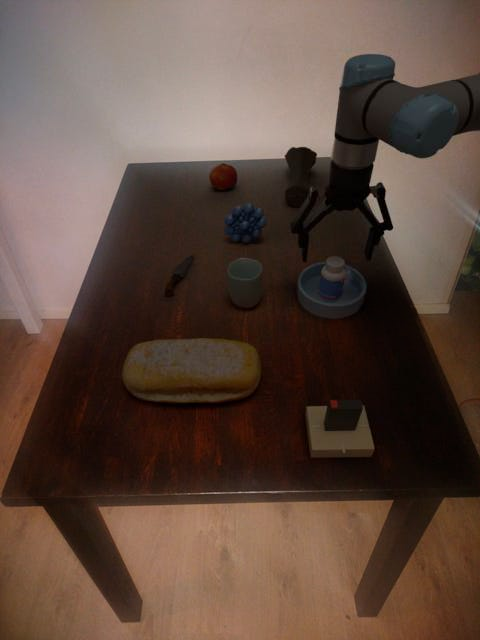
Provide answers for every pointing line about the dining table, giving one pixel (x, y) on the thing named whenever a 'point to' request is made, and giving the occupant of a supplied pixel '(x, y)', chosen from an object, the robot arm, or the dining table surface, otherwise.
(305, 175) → the scalloped vase
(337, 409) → the black block red label
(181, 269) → the knife
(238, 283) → the cup
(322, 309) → the shallow blue dish
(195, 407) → the dining table surface
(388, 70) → the robot arm
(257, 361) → the bread
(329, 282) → the pill bottle
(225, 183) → the tomato
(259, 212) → the grapes
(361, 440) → the tan flat block
